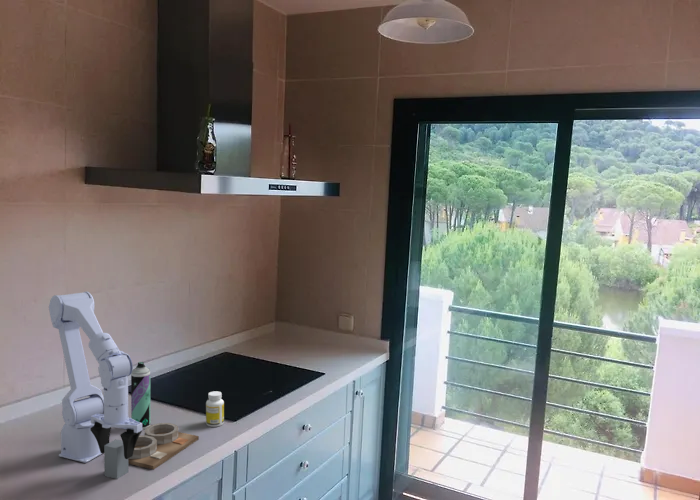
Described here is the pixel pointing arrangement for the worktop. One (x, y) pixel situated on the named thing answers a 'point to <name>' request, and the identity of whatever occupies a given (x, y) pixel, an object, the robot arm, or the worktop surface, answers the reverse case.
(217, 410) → the supplement bottle
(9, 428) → the worktop surface
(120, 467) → the plug
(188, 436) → the socket board
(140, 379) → the spray can
